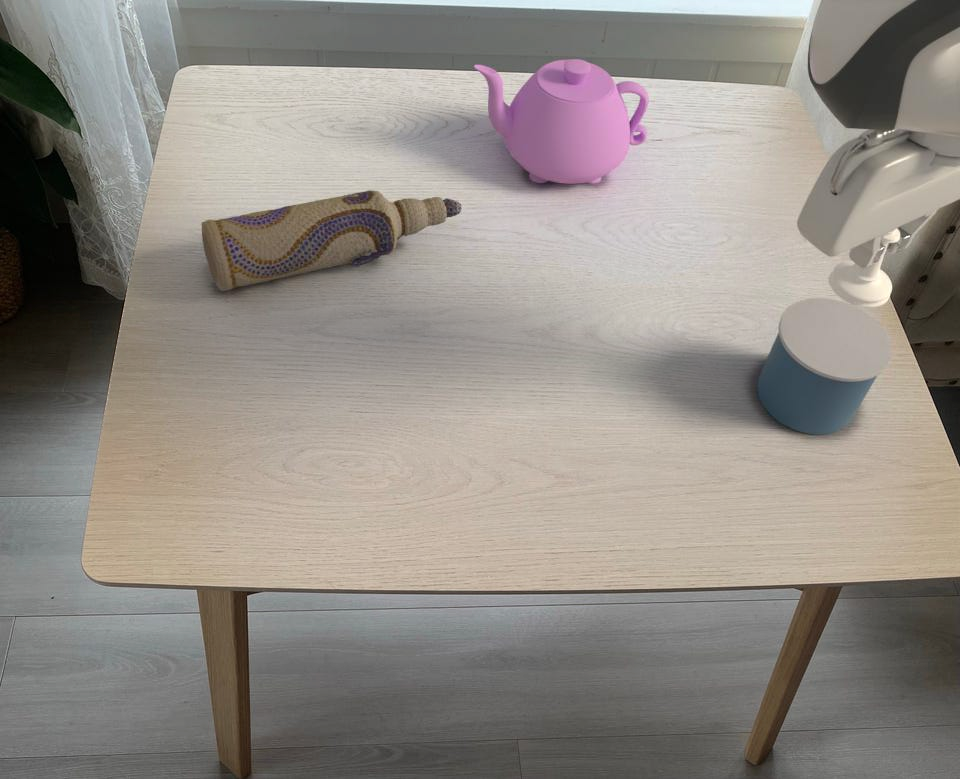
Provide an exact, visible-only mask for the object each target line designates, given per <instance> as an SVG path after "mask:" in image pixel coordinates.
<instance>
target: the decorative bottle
mask: <svg viewBox="0 0 960 779" xmlns="http://www.w3.org/2000/svg"><path fill="white" fill-rule="evenodd" d="M462 208H463V207H462V204H461V203H460V202H459V201H458V200H454V199H451V198H447V197H446V198H444V199H443V198H442V197H440V196H433V197H431V198H430V197H428V198H424V199H418V198H410V197H409V198H401V199H397V200H395V201H392V202H391V201H390V200H389V199H387V198H386V196H384V195H383V194H382V193H381V191H379V190H372V189H369V190H366V191H360V192H354V193H348V194H344V195H339V196H335V197H334V196H333V197H330V198H324V199H318V200H314V201H308V202H303V203H299V204H293V205H285V206H282V207H279V208H274V209H268V210H267V209H266V210H261V211H254V212H250V213H246V214H241V215H238V216H237V215H236V216H231V217H227V218H226V217H225V218H220V219H208V220H205V221H202V222H201V224H200V226H201V239H202V240H201V241H202V245H203V251H204V255H205V257H206V261H207V264H208V269H209V271H210V275H211V276H212V279H213V281H214V283H215V286H216V288H217V289H218V290H219V291H221V292H225V291H231V290H232V289H234V288H238V287H243V286H244V287H246V286H250V285H253V284H254V285H255V284H259V283H260V284H261V283H264V282H265V283H266V282H269V281H273V280H276V279H284V278H287V277H291V276H296V275H300V274H305V273H309V272H315V271H319V270H323V269H327V268H332V267H336V266H341V265H346V264H351V265H352V266H357V267H361V266H363V265H366V264H368V263H370V262H372V261H373V260H375V259H379V258H380V257H382V256H383V257H384V256H388V255H390V254H391V253H393V252H394V251H395V249H396V247H397V243H398V240H399V239H400V238H401V237H403V236H404V237H407V236H411V235H415V234H417V233H419V232H422V231H423V230H424V229H426V228H427V227H430V226H432V227H434V226H437V225H441V224H443V223H444V224H445V222H446V220H447V218H453V217H456V216H458V215H460V213H461V211H462Z"/></svg>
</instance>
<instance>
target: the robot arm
mask: <svg viewBox="0 0 960 779" xmlns="http://www.w3.org/2000/svg"><path fill="white" fill-rule="evenodd" d="M807 50H808V51H807V73H808V77H809V78H808V79H809V81H810V83H811V85H812V87H813V88H814V90H815V92H816V93H817V95H818V97H819V98H820V100H821V101H822V103H823V105H824V106H825V107H826V108H827V109H828V110H829V112H831V114H832V115H833V116H834V118H835V119H837V121H838V122H840V124H841V125H842V126H843V127H844V128H845V129H853V130H854V129H855V130H865V131H863V132H862V133H860V135H859V136H857V137H854V138H852V139H849V140H848V141H846V142H845V143H843V144H842V145H841V146H839V147H838V148H837V149H836V150H835V152H833V153H832V155H831V156H830V157H829V159H828V160H827V162H826V163H825V165H824V166H823V167H822V170H821V172H820V173H819V175H818V177H817V179H816V180H815V182H814V184H813V186H812V188H811V189H810V192H809V194H808V196H807V198H806V200H805V203H804V204H803V206H802V208H801V210H800V213H799V215H798V217H797V220H796V227H797V229H798V232H799V234H800V236H802V237H803V238H804V239H805V240H806V241H807V242H809V243H810V244H811V245H812V246H813V247H815V248H816V249H817V250H818V251H820V252H821V253H823V254H824V255H825V256H828V257H831V258H833V257H836V256H839V255H841V254H843V253H846V252H848V251H849V250H850V251H849V253H848V257H849V259H850V260H852V261H853V262H854V263H856V264H857V265H858V266H859V267H861V268H866V267H868V266H870V265H872V264H874V263H876V262H878V261H879V259H880V256H881V255H882V254H883V252H884V250H885V248H886V247H885V246H884V245H882V244H881V243H880V239H881V237H884V236H886V235H887V233H888V232H889V231H891V230H894V229H896V228H897V229H898V230H899V231H900V239H899V241H897V242H895V243H889V244H888V246H887V249H886V251H887V252H888V253H889V254H891V255H895V254H896V253H899V252H901V251H904V250H905V249H908V248H909V247H910V245H911V244H912V241H913V239H914V238H915V236H916V234H917V233H918V232H919V231H920V230H921V229H923V227H924V226H925V225H926V224H927V223H928V222H929V221H930V220H931V219H932V218H933V217H934V216H935V215H936V213H937V211H938V210H939V209H941V208H944V207H946V206H948V205H950V204H953V203H954V202H957V201H959V200H960V0H820V3H819V7H818V8H817V12H816V15H815V19H814V21H813V25H812V29H811V33H810V38H809V43H808V49H807Z"/></svg>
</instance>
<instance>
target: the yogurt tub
mask: <svg viewBox="0 0 960 779" xmlns="http://www.w3.org/2000/svg"><path fill="white" fill-rule="evenodd" d="M891 341H892V340H891V339H890V336H889V334H888V333H887V331H886V330H885V328H884V327H883V325H882V324H881V323H880V322H879V321H877V319H875V317H874V316H871V314H869V313H868V312H866V311H865V310H863V309H861V308H859V307H858V306H856V305H853V304H851V303H848V302H846V301H842V300H838V299H834V298H828V297H827V298H826V297H813V298H806V299H802V300H799V301H796V302H795V303H793V304H791V305H790V306H789V307H787V308H786V309H785V311H784V312H783V313H782V315H781V317H780V319H779V323H778V333H777V335H776V337H775V340H774V342H773V344H772V346H771V348H770V351H769V352H768V355H767V358H766V360H765V362H764V364H763V367H762V369H761V372H760V374H759V376H758V378H757V381H756V391H757V392H756V393H757V396H758V400H759V402H760V404H761V405H762V407H763V408H764V409H765V411H766V412H767V413H768V414H769V415H770V416H771V417H772V418H773V419H775V421H777V422H778V423H780V424H782V425H784V426H785V427H787V428H789V429H791V430H793V431H795V432H799V433H803V434H809V435H814V436H815V435H816V436H817V435H818V436H820V435H821V436H822V435H829V434H834V433H837V432H839V431H841V430H843V429H844V428H846V427H848V425H850V423H851V421H852V420H853V418H854V417H855V415H856V413H857V411H859V409H860V406H861V405H862V403H863V401H864V399H865V398H866V396H867V394H868V393H869V391H870V389H871V388H872V386H873V384H874V383H875V381H876V379H877V377H878V376H879V375H880V374H882V373H883V372H884V371H885V370H886V369H887V367H888V366H889V364H890V362H891V360H892V356H893V346H892V342H891Z"/></svg>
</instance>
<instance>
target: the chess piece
mask: <svg viewBox="0 0 960 779" xmlns="http://www.w3.org/2000/svg"><path fill="white" fill-rule="evenodd" d="M899 239H900V231H899V230H898V229H897V228H896V229H894V230H891V231H889V232H888V233H887V235H886V236H884V237H881V239H880V243H881V244H882V245H884V246H885V247H886V248H885V250H884V252H883V254H882V255H881V256H880V259H879V261H878V262H876V263H874V264H872V265H870V266H868V267H866V268H861V267H859V266H858V265H857V264H856V263H854V262H853V261H852V260H851V259H850V260H845V261H842V262H840V263H838V264H836V265H835V267H834V268H833V270H832V271H831V272H830V274H829V276H828V283H829V286H830V288H831V290H832V291H833V292H834V294H835V295H836V296H837V297H839V298H840V299H841V300H843V301H844V302H845V303H848V304H851V305H853V306H856V307H860V308H861V307H862V308H878V307H881V306H883V305H885V304H887V303H888V301H889V299H890V297H891V294H892V291H893V284H892V281H891V279H890V277H889V275H887V273H886V272H885V271H883V270H882V269H881V266H882V264H883V261H884V257H885V254H886V251H887V246H888V244H889V243H895V242H897V241H899Z"/></svg>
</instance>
